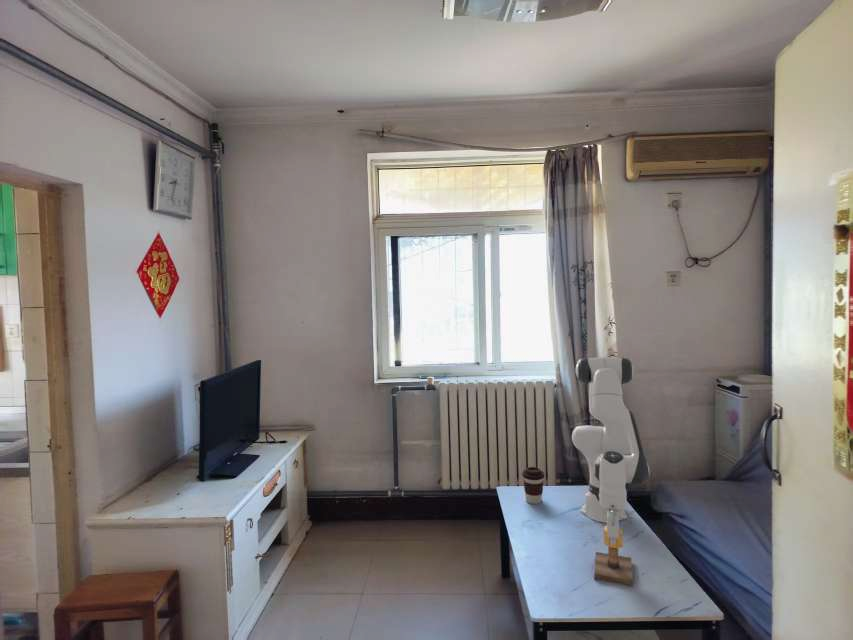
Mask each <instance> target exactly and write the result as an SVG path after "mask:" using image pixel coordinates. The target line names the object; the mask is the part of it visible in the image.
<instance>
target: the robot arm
mask: <svg viewBox="0 0 853 640" xmlns="http://www.w3.org/2000/svg"><path fill="white" fill-rule="evenodd" d="M634 371H635V370H634V366H633V364H632V361H631V360H630V359H629V358H625V357H613V356H603V357H589V358H588V357H582V358H580V359H578V361H577V363H576V365H575V374H576V377H577V380H578V381H579V382H580V383H581V384H582V383H583V384H586V385H589V388H588V410H589V411H588V412H589V413H590V415H591V416H592V417H593V418H594V419H597V420H598V421H599V422H601V423H602V424H603V426H598V425H597V426H596V425H588V424H587V425H580V426H579V425H578V426H575V428H574V429H573V431H572V434H571V441H572V444H573V445H574V447H575V448H576V449H577V450H578V451H579V452H581V454H583V456H584V458H585V459H586V461H587V465H588V469H589V481H588V492H586V493H585V495H584V498H585V499H584V500H585V501H584V504H583V506H582V507H581V509H580V513H581V514H583V515H586V516H587V517H588V518H590V519H592V520H593V521H596V522H600V523H604V524H605V523H606V526H607V537H608V538H610V544H612V545H616V539H618V538H619V527H620V521H621V520H627V519H628V515H627V513H626V511H625V509H626V508H627V507H628V506H627V498H628V496H627V495H628V494H627V492H628V491H627V489H626V488H627V487H626V484H631V485H637V486H641V485H644V484H645V483H646V482H647V481H649V479H650V473H651V472H650V466H649V463H648V462H647V459H646V456H645V452H644V448H643V444H642V440H641V435H640V432H639V429H638V428H639V427H638V424H637V421H636V419H635V415H634V414H633V412H632V411H630V410H629V409H628V408H627V407H626V405H625V403H624V400H623V389H622V385H624V384H628V383H630V382H631V381H632V380H633V376H634Z"/></svg>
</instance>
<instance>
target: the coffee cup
mask: <svg viewBox="0 0 853 640" xmlns="http://www.w3.org/2000/svg"><path fill="white" fill-rule="evenodd" d="M522 477H523V489H524V494H525V495H524V496H525V501H526V502H527V503H529V504H533V505H534V504H535V505H536V504H541V503H542V502H543V501H542V500H543V493H544V492H543V491H544V478H545V472H544V471H543V470H542V469H541V468H539V467H535V466H529V467H526V468H525V469H524V470H522Z"/></svg>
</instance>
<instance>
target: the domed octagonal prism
mask: <svg viewBox="0 0 853 640" xmlns="http://www.w3.org/2000/svg"><path fill="white" fill-rule="evenodd" d="M623 532H624V530H623V529H622V527H620V526H619V538H618V539H616V545H612V544H610V538H608V537H607V525H605V526H604V527H603V544H604V545H606V547H611V548H618V549H620V548H623V544H624V543H623V534H624V533H623Z"/></svg>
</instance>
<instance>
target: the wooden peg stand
mask: <svg viewBox="0 0 853 640" xmlns="http://www.w3.org/2000/svg"><path fill="white" fill-rule="evenodd" d="M607 547H608V546H607ZM607 550H608V552H607V553H605V552H599V551H595V559H594V560H595V561H594V575H593V576H594V577H593V578H594V580H596V581H602V582H607V583H612V584H618V585H624V586H628V587H633V586H634V585H633V580H634V579H633V565H632V563H633V562H632V557H630V556H623V555H619V548H611V547H608V548H607Z"/></svg>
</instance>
